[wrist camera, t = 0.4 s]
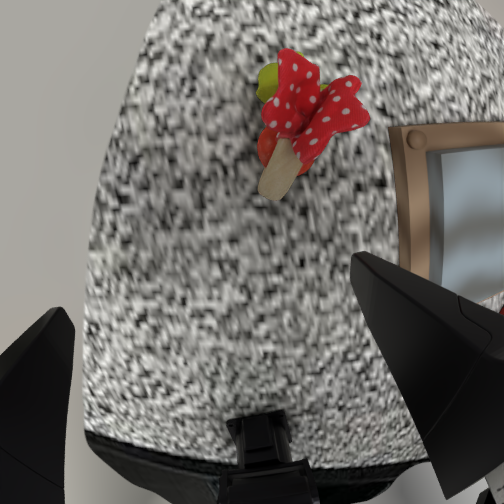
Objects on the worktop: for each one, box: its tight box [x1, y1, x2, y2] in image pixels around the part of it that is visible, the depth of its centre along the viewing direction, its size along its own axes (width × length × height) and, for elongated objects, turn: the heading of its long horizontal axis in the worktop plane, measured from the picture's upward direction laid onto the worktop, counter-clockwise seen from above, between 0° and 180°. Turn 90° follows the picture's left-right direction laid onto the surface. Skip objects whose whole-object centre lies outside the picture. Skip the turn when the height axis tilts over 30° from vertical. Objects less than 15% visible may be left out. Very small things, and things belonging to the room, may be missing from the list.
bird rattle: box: [256, 48, 370, 201], centre depth 16 cm, size 6×11×9 cm
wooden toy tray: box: [388, 122, 504, 304], centre depth 23 cm, size 18×18×4 cm
